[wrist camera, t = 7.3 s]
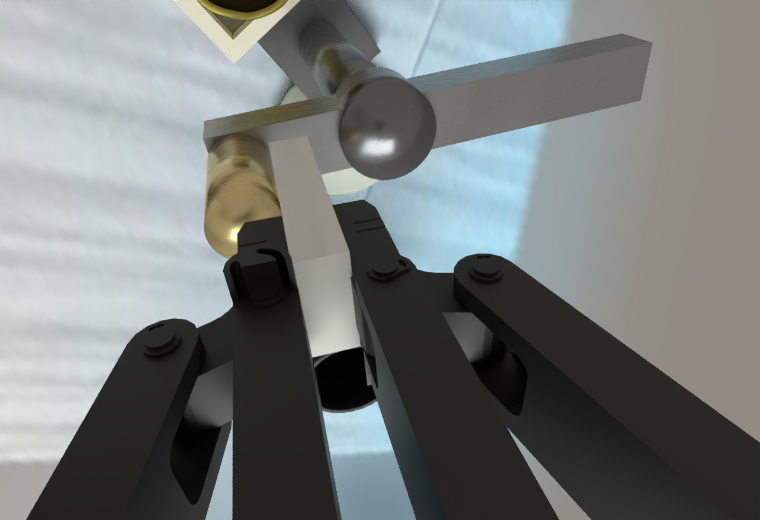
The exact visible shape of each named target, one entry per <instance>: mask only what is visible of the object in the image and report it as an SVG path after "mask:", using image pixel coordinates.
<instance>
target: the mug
mask: <svg viewBox="0 0 760 520" xmlns="http://www.w3.org/2000/svg"><path fill="white" fill-rule="evenodd" d="M360 345H361V346H360V347H355V348H351V349H347V350H343V351H338V352H334V353H330V354H325V355H321V356H317V357H312V359H313V364H314V369H315V373H316V379H317V384H318V390H319V396H320V401H321V407H322V411H325V412H331V413H345V412H351V411H355V410H359V409H362V408H365V407H367V406H369V405H371V404H373V403H375V402H376V401H377V398H376V395H375V392H374V389H373V386H372V385H367V377H366V368H365V359H364V350H363V345H362V342H361V339H360Z"/></svg>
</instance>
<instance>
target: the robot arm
mask: <svg viewBox="0 0 760 520" xmlns="http://www.w3.org/2000/svg"><path fill="white" fill-rule="evenodd" d="M269 148H270V153H271V159H272V164H273V169H274V175H275V180H276V186H277V191H278V197H279V202H280V207H281V213H282V216H277V217H272V218H266V219H261V220H255V221H249V222H245V223H244V224H243V226H242V227H241V229H240V230H239V232H238V233H237V247H238V248H237V253H236V254H234V255H233V256H232V257H231V258H230V259H229V260H228V261H227V262H226V263H225V266H224V269H223V272H224V276H225V279H226V282H227V285H228V288H229V291H230V295H231V298H232V301H233V307H232V308H231V309H230V310H229V311H228V312H226V313H225V314H224V315H223V316H221V317H219V318H218V319H216V320H214V321H212V322H210V323H207V324H205V325H203V326H201V327H198V328H196V326H195V324H193V323H191V322H189V321H188V320H184V319H168V320H163V321H159V322H157V323H154V324H152V325H149V326H147V327H146V328H144V329H143V330H141V331H140V332H138V333H137V334H136V335H135V336H134V337H133V338H132V339H131V340H130V342H129V343H128V344H127V346H126V347H125V349H124V351H123V353H122V354H121V356H120V358H119V359H118V361H117V363H116V365H115V366H114V368H113V370H112V372H111V373H110V375H109V377H108V379H107V380H106V382H105V384H104V386H103V387H102V389H101V391H100V392H99V394H98V396H97V398H96V399H95V401H94V403H93V405H92V406H91V408H90V410H89V412H88V413H87V415H86V417H85V418H84V420H83V422H82V424H81V425H80V427H79V429H78V431H77V432H76V434H75V436H74V438H73V439H72V441H71V443H70V444H69V446H68V448H67V450H66V451H65V453H64V455H63V457H62V458H61V460H60V462H59V464H58V465H57V467H56V469H55V471H54V472H53V474H52V476H51V478H50V479H49V481H48V483H47V484H46V487H45V488H44V490H43V491H42V493H41V495H40V497H39V498H38V500H37V502H36V503H35V505H34V507H33V509H32V510H31V512H30V514H29V516H28V518H27V519H26V520H205V518H206V515H207V511H208V507H209V504H210V501H211V497H212V493H213V490H214V487H215V483H216V479H217V476H218V473H219V469H220V465H221V462H222V458H223V455H224V451H225V448H226V444H227V441H228V437H229V434H230V430H231V424H232V420H233V518H232V520H342V519H341V514H340V508H339V502H338V497H337V491H336V485H335V480H334V474H333V468H332V463H331V457H330V452H329V446H328V440H327V435H326V429H325V424H324V418H323V412H322V407H321V401H320V396H319V390H318V384H317V379H316V373H315V369H314V364H313V359H312V357H317V356H321V355H325V354H330V353H334V352H338V351H343V350H347V349H351V348H355V347H360V346H361V345H360V339H361V342H362V345H363V350H364V359H365V368H366V377H367V385H372V386H373V389H374V392H375V395H376V398H377V401H378V404H379V408H380V411H381V414H382V417H383V420H384V423H385V426H386V429H387V432H388V435H389V438H390V441H391V444H392V447H393V450H394V453H395V456H396V459H397V462H398V465H399V468H400V471H401V474H402V477H403V480H404V484H405V487H406V489H407V492H408V496H409V499H410V502H411V505H412V508H413V511H414V514H415V517H416V520H559V519H558V517H557V515H556V513H555V512H554V510H553V508H552V506H551V505H550V503H549V501H548V499H547V497H546V496H545V494H544V492H543V490H542V489H541V488H540V485H539V484H538V482H537V480H536V478H535V476H534V475H533V473H532V471H531V469H530V467H529V466H528V464H527V462H526V461H525V459H524V457H523V455H522V454H521V452H520V450H519V448H518V447H517V445H516V443H515V441H514V440H513V438H512V436H511V434H510V432H509V430H508V429H507V427H508V428H509V429H510V431H511V432H512V433H513V434H514V435H515V436H516V437H517V438H518V439H519V441H520V442H521V443H522V444H523V445H524V446H525V447H526V448H527V449H528V450H529V452H530V453H531V454H532V455H533V456H534V457H535V458H536V459H537V460H538V461H539V463H540V464H541V465H542V466H543V467H544V468H545V469H546V470H547V471H548V472H549V473H550V475H551V476H552V477H553V478H554V479H555V480H556V481H557V482H558V483H559V484H560V486H561V487H562V488H563V489H564V490H565V491H566V492H567V493H568V494H569V495H570V497H571V498H572V499H573V500H574V501H575V502H576V503H577V504H578V505H579V506H580V508H581V509H582V510H583V511H584V512H585V513H586V514H587V515H588V516H589V517H590V519H591V520H760V442H758V441H757V440H755V439H754V438H753V437H751V436H750V435H749V434H747V433H746V432H744V431H743V430H742V429H740V428H739V427H738V426H736V425H735V424H733V423H732V422H731V421H729V420H728V419H727V418H725V417H724V416H722V415H721V414H720V413H718V412H717V411H716V410H714V409H713V408H711V407H710V406H709V405H707V404H706V403H704V402H703V401H702V400H700V399H699V398H698V397H696V396H695V395H694V394H692V393H691V392H689V391H688V390H687V389H685V388H684V387H683V386H681V385H680V384H678V383H677V382H676V381H674V380H673V379H671V378H670V377H669V376H667V375H666V374H665V373H663V372H662V371H660V370H659V369H658V368H656V367H655V366H654V365H652V364H651V363H649V362H648V361H646V360H645V359H644V358H642V357H641V356H640V355H639V354H637V353H636V352H634V351H633V350H632V349H630V348H629V347H627V346H626V345H625V344H623V343H622V342H621V341H619V340H618V339H616V338H615V337H614V336H612V335H611V334H610V333H608V332H607V331H605V330H604V329H603V328H601V327H600V326H599V325H597V324H596V323H594V322H593V321H592V320H590V319H589V318H588V317H586V316H584V315H583V314H582V313H581V312H579V311H578V310H576V309H575V308H574V307H572V306H571V305H570V304H568V303H567V302H565V301H564V300H563V299H561V298H560V297H559V296H557V295H556V294H554V293H553V292H552V291H550V290H549V289H548V288H546V287H545V286H543V285H542V284H541V283H539V282H538V281H536V280H535V279H534V278H533V277H531V276H530V275H528V274H527V273H526V272H524V271H523V270H521V269H520V268H519V267H517V266H516V265H515V264H513V263H512V262H511V261H509V260H507V259H505V258H503V257H501V256H497V255H492V254H474V255H470V256H466V257H464V258H463V259H461V260H459V261H458V262H457V264H456V265H455V267H454V273H433V272H425V271H421V270H417V268H416V266H415V265H414V264H413V263H412V262H411V261H410V260H409V259H408V258H405V257H403V256H401V255H400V254H399V252H398V250H397V248H396V246H395V244H394V242H393V240H392V238H391V236H390V234H389V233H388V231H387V229H386V228H385V225H384V223H383V221H382V220H381V217H380V215H379V213H378V211H377V209H376V207H374V206H373V205H371V204H370V203H368V202H366V201H365V200H359V201H353V202H348V203H342V204H336V205H332V203H331V200H330V198H329V195H328V192H327V190H326V187H325V184H324V181H323V179H322V176H321V173H320V171H319V168H318V165H317V162H316V160H315V157H314V154H313V152H312V149H311V146H310V143H309V141H308V138H307V137H301V138H294V139H288V140H282V141H275V142H269ZM506 426H507V427H506Z"/></svg>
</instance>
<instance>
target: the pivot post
mask: <svg viewBox="0 0 760 520" xmlns="http://www.w3.org/2000/svg"><path fill="white" fill-rule="evenodd" d="M257 42H258V43H259V44H260V45H261V46H262V48H263V49H264V50H265V51H266V52H267V53H268V54H269V55H270V57H271V58H272V59H273V60H274V61H275V62H276V63H277V64H278V66H279V67H280V68H281V69H282V70H283V71H284V72H285V73H286V75H287V76H288V77H289V78H290V79H291V80H292V81H293V83H294V84H295V85H296V86H297V87H298V88H299V89H300V90H301V92H302V93H303V94H304V95H305V96H306V97H307V98H308V99H312V98H317V97H322V96H327V95H331V94H335V93H336V91H337V90H338V88H339V87H340V86H341V84H342V83H343V82H344V81H345V80H346V79H347V78H349V77H350V76H351V75H353V74H354V73H356V72H358V71H361V70H363V69H367V68H373V67H375V66H374V65H373V64H372V63H371V62H370V61H371V60H372V59H373V58H374V57H375V56H376V55H377V54H379V53H380V52H381V51H380V49H379V48H378V46H377V45H376V44H375V42H374V41H373V39H372V38H371V37H370V35H369V34H368V32H367V31H366V30H365V28H364V27H363V25H362V24H361V23H360V21H359V20H358V18H357V17H356V16H355V14H354V13H353V11H352V10H351V9H350V7H349V6H348V4H347V3H346V2H345V0H300V1H299V2H298V3H297V4H296V5H295V6H294V7H293V8H292V9H291V10H290V11H289V12H288V13H287V14H285V15H284V16H283V17H282V18H281V19H280V20H279V21H278V22H277V23H276V24H275V25H274V26H273V27H272V28H271V29H270V30H269V31H268V32H267V33H266V34H265V35H264V36H262V37H261V38H260V39H259V40H258V41H257Z"/></svg>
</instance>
